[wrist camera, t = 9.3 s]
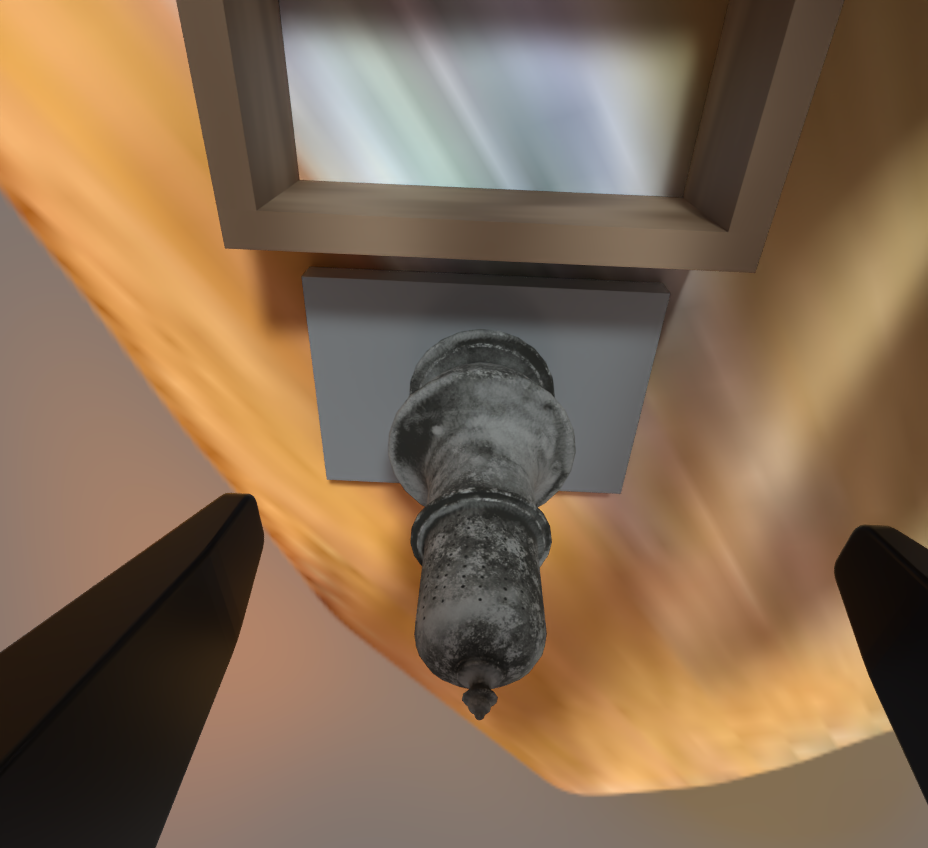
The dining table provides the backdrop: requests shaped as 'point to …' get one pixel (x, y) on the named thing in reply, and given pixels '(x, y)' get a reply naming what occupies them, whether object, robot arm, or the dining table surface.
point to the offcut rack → (498, 210)
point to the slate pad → (469, 308)
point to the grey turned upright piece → (481, 504)
